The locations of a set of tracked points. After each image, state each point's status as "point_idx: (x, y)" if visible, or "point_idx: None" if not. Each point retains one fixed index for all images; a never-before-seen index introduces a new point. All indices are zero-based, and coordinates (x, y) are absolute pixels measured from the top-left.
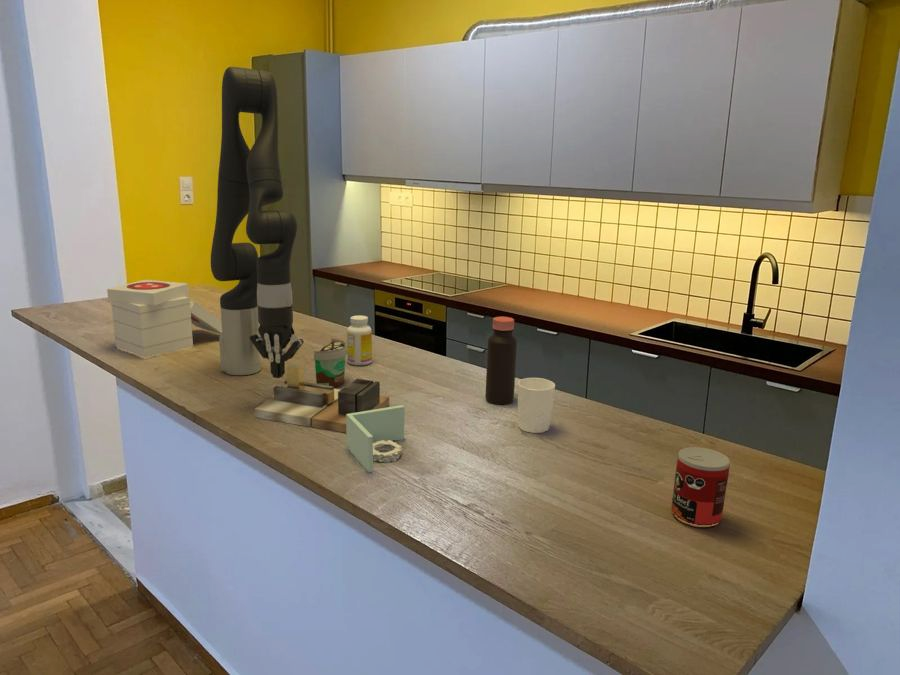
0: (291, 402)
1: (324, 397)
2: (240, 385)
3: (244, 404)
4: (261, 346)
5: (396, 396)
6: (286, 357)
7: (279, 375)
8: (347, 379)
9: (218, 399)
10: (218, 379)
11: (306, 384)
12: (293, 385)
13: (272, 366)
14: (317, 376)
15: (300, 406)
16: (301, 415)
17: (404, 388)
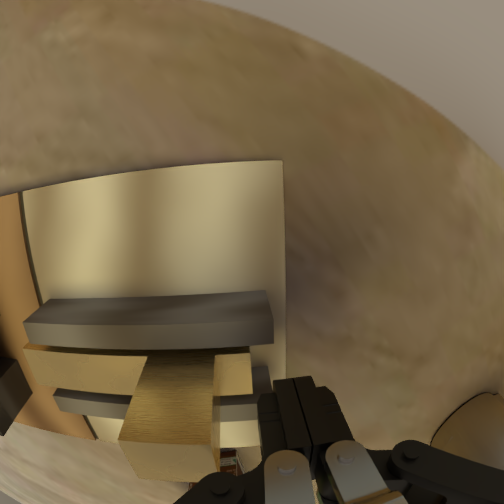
0: (173, 295)
1: None
2: (450, 368)
3: (386, 258)
4: (457, 497)
5: (45, 447)
6: (201, 499)
7: (272, 394)
8: None
9: (468, 256)
10: (497, 361)
11: None
12: (176, 365)
13: (325, 420)
14: None
15: (116, 277)
16: (56, 195)
17: (70, 478)
